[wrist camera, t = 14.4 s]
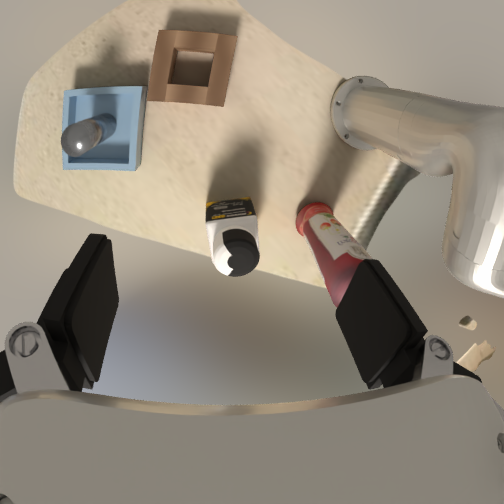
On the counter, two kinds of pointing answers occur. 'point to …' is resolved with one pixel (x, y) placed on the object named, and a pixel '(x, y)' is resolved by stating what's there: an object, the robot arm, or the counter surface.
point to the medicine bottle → (233, 235)
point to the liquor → (330, 247)
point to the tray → (127, 131)
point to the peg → (87, 134)
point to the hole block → (192, 42)
